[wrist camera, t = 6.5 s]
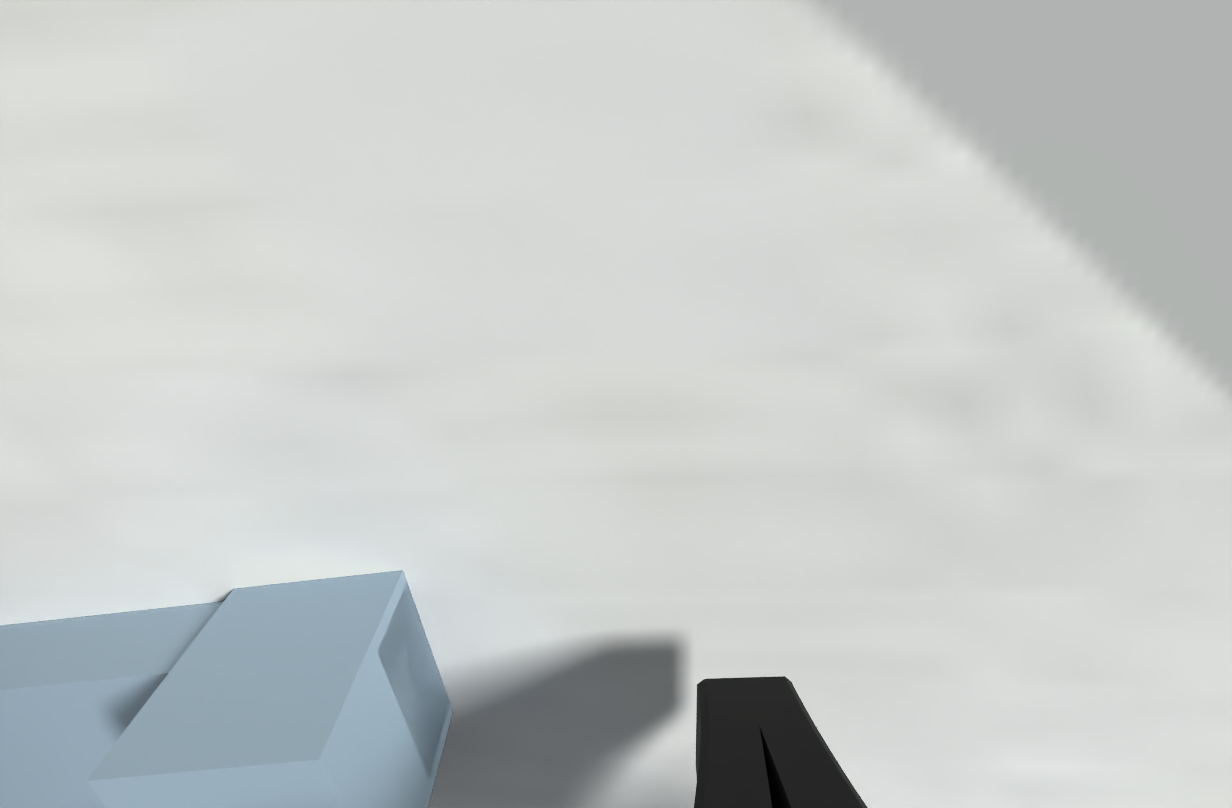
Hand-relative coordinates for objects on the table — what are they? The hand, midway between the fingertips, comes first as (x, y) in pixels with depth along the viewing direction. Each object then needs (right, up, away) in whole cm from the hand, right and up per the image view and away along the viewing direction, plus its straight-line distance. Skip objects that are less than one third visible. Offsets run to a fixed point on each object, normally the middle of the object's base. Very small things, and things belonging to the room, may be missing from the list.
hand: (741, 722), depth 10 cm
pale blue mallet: (-13, 0, +2) cm, 13 cm away
